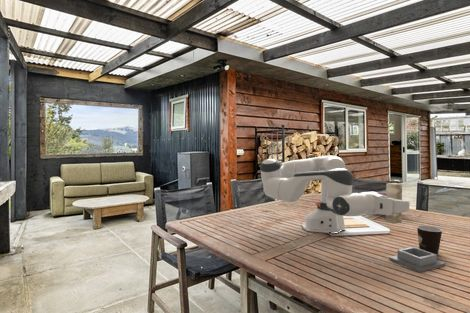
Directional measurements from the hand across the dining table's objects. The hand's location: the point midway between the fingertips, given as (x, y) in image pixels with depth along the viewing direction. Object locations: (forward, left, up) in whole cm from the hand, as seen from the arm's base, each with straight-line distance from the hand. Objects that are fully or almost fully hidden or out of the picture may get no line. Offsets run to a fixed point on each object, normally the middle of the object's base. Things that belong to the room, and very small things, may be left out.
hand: (395, 200), depth 117 cm
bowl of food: (+24, +68, -22) cm, 75 cm away
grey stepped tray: (+3, -10, -22) cm, 24 cm away
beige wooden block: (-1, 0, -9) cm, 9 cm away
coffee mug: (+15, +2, -22) cm, 27 cm away
